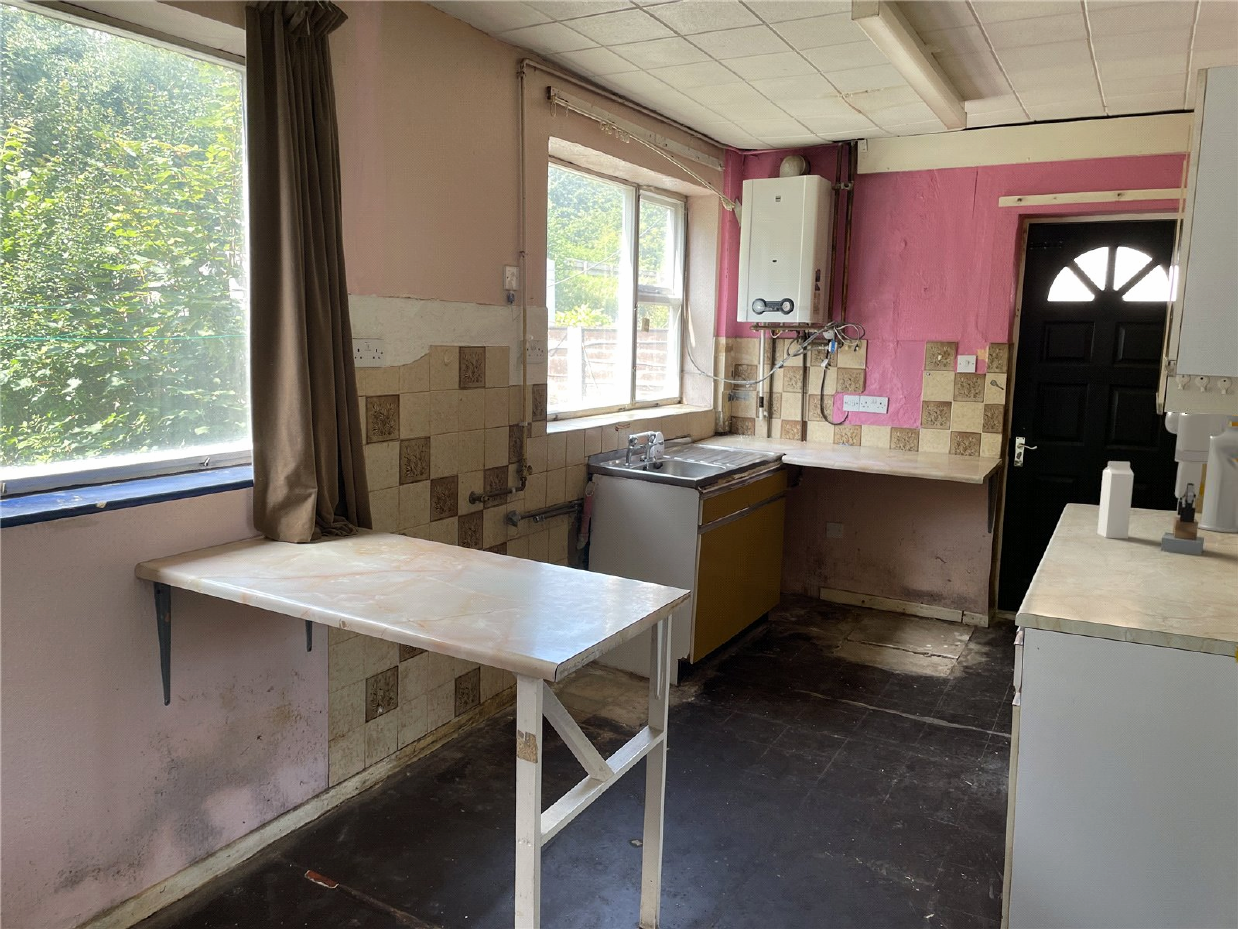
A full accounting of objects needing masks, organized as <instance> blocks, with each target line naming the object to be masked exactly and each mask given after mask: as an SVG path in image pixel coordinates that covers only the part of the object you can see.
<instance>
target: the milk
mask: <svg viewBox="0 0 1238 929" xmlns="http://www.w3.org/2000/svg"><path fill="white" fill-rule="evenodd" d="M1134 476H1135V473H1134V472H1133V470H1132V469H1131V462H1130V461H1119V460H1118V461H1116V460H1114V461H1113V460H1112V461H1111V460H1109V461H1108V462H1107V467H1105V468H1104V469H1103V470H1102V477H1101V478H1102V480H1101V491H1100V502H1099V512H1098V522H1097V523H1098V525H1097V534H1098V535H1099V536H1102V537H1103V538H1106V539H1124V540H1125V539H1127V540H1128V538H1129V537H1128V536H1129V529H1130V528H1129V525H1130V518H1131V507H1132V506H1131V505H1132V495H1133V484H1134ZM1097 534H1096V535H1097Z"/></svg>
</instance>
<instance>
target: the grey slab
mask: <svg viewBox="0 0 1238 929" xmlns="http://www.w3.org/2000/svg"><path fill="white" fill-rule="evenodd" d="M1160 542H1161V544H1160V545H1161V546H1160V551H1162V552H1169V553H1177V554H1183V555H1192V556H1198V557H1201V555H1202V553H1203V550H1204V544H1205V536H1199V535H1197V538H1196V540H1189V539H1179V538H1174V536H1173V532H1165V533H1164V534H1163V535H1162V537H1161V541H1160Z"/></svg>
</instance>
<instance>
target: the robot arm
mask: <svg viewBox="0 0 1238 929" xmlns="http://www.w3.org/2000/svg"><path fill="white" fill-rule="evenodd" d="M1230 422H1232V423H1238V416H1227V415H1225V414H1185V413H1173V412H1166V416H1165V420H1164V424H1165V428H1166V430H1167V432H1169V433H1171V434H1174V435H1175V434H1176V436H1177V437H1176V443H1175V444H1176V445H1175V455H1174V461H1175V462H1178V466H1177V471H1176V480H1175V489H1174V490H1175V492H1174V495H1175V497H1176V499H1179V500H1178V504H1177V505H1178V506H1177V516H1179V517H1180V522H1188V523H1193V522H1194V519H1196V518H1195V517H1196V500H1198V499H1199V494H1200V490H1201V482H1202V475H1203V474H1202V472H1203V465H1204V464H1206V474H1205V475H1206V476H1205V483H1204V492H1203V500H1202V501H1203V502H1202V512H1201V521H1198V520H1197V521H1198V529H1201V530H1206V531H1211V532H1220V533H1233V534H1234V533H1235V534H1236V533H1238V461H1237V460H1238V426H1237V425H1236V426H1233V425H1230V424H1229V423H1230ZM1236 459H1237V460H1236Z"/></svg>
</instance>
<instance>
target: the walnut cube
mask: <svg viewBox="0 0 1238 929" xmlns="http://www.w3.org/2000/svg"><path fill="white" fill-rule="evenodd" d="M1173 518H1174V520H1173V529H1172V533H1173V536H1174V538H1179V539H1189V540H1196V538H1197V536H1198V529H1199V528H1198V519H1197V518H1194V522H1193V523H1188V522H1180V516H1179V517H1178V516H1174V517H1173Z"/></svg>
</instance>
